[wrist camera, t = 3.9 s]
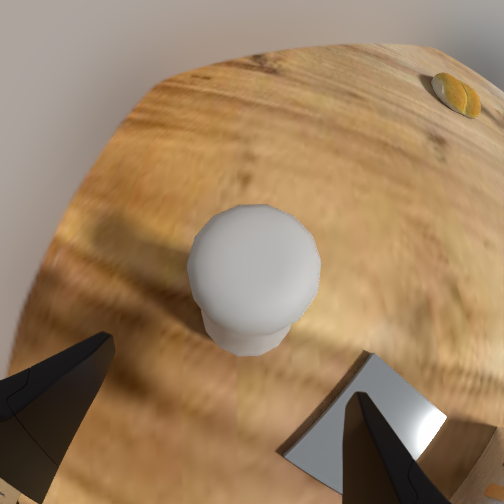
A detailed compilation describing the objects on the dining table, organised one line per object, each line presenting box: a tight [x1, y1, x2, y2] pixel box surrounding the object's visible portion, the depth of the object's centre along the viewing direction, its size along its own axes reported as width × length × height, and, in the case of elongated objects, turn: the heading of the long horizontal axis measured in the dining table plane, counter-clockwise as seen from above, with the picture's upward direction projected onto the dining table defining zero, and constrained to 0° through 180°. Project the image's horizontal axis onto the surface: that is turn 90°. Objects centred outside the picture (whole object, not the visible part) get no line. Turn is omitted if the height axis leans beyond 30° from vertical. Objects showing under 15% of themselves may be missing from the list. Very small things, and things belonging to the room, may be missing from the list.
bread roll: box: [431, 73, 481, 119], centre depth 31 cm, size 8×9×4 cm
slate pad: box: [283, 353, 446, 494], centre depth 17 cm, size 10×10×1 cm
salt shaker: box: [187, 204, 321, 356], centre depth 14 cm, size 6×6×13 cm
